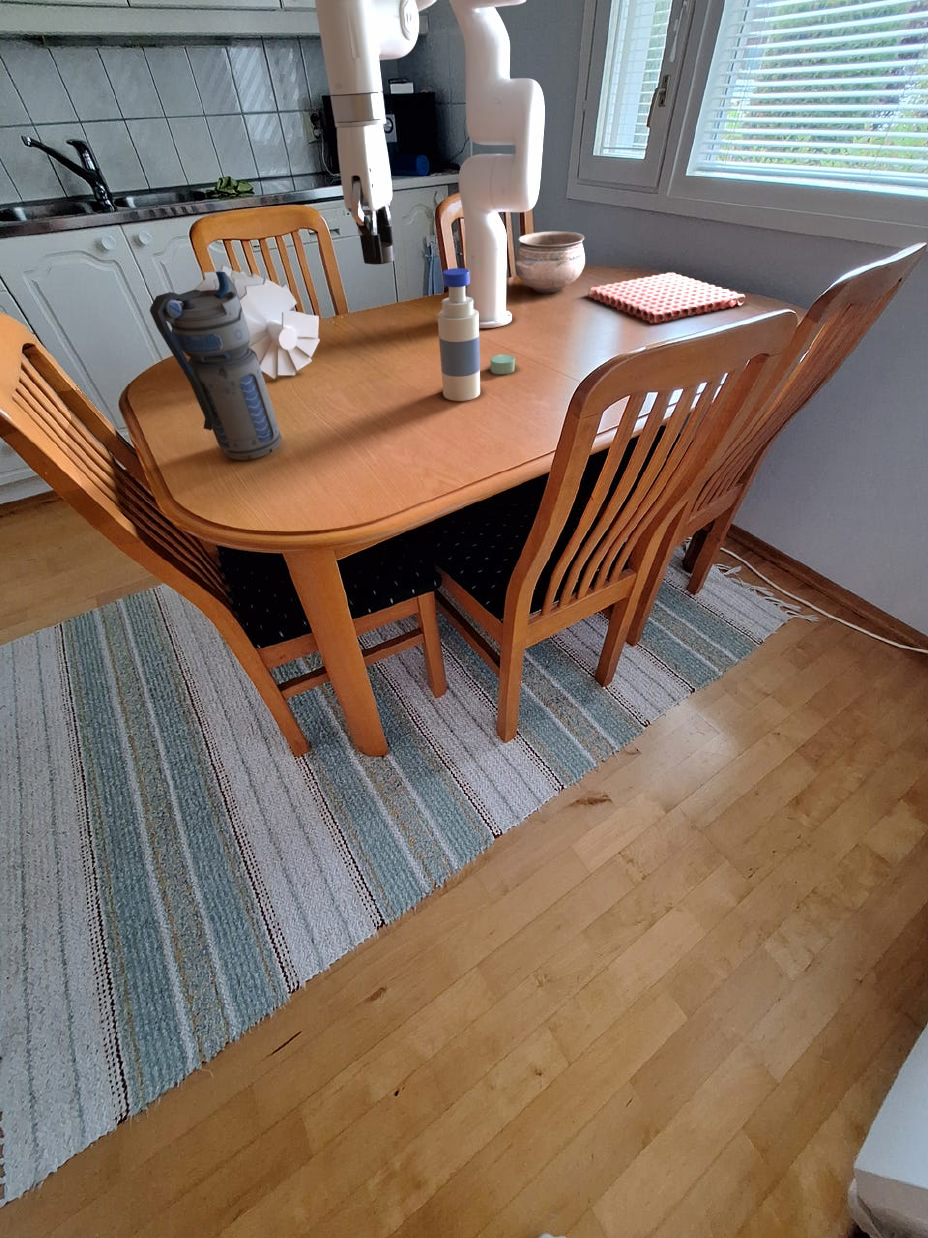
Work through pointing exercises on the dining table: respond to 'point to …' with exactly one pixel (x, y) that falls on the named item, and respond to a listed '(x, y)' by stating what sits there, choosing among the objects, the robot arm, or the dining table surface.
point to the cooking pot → (550, 260)
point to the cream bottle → (459, 339)
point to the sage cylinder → (502, 364)
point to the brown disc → (387, 252)
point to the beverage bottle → (220, 366)
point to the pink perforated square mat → (665, 297)
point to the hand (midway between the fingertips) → (379, 257)
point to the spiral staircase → (271, 322)
